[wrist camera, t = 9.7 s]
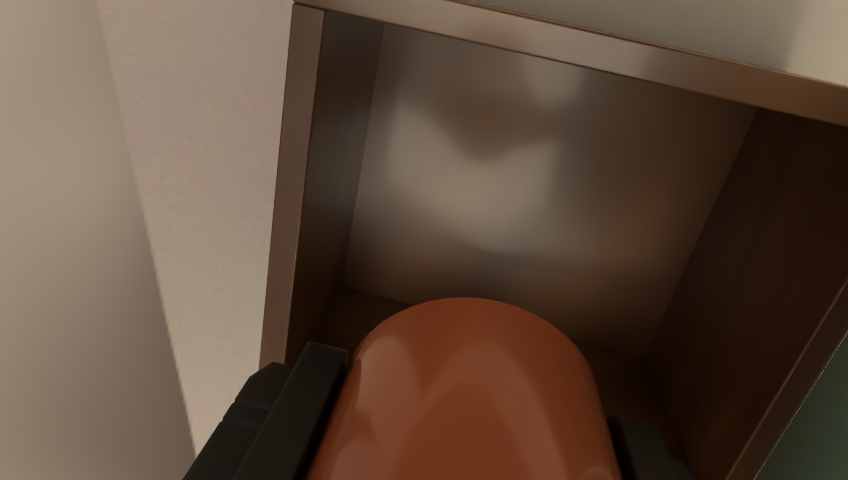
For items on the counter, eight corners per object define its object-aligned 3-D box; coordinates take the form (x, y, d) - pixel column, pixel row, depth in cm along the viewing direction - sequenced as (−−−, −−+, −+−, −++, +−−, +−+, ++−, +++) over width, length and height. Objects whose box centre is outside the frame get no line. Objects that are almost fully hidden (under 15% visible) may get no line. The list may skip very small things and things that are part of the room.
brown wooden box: (327, 290, 26) (253, 419, 18) (373, -20, 20) (295, -35, 12) (649, 366, 26) (722, 533, 18) (786, 72, 20) (984, 118, 12)
